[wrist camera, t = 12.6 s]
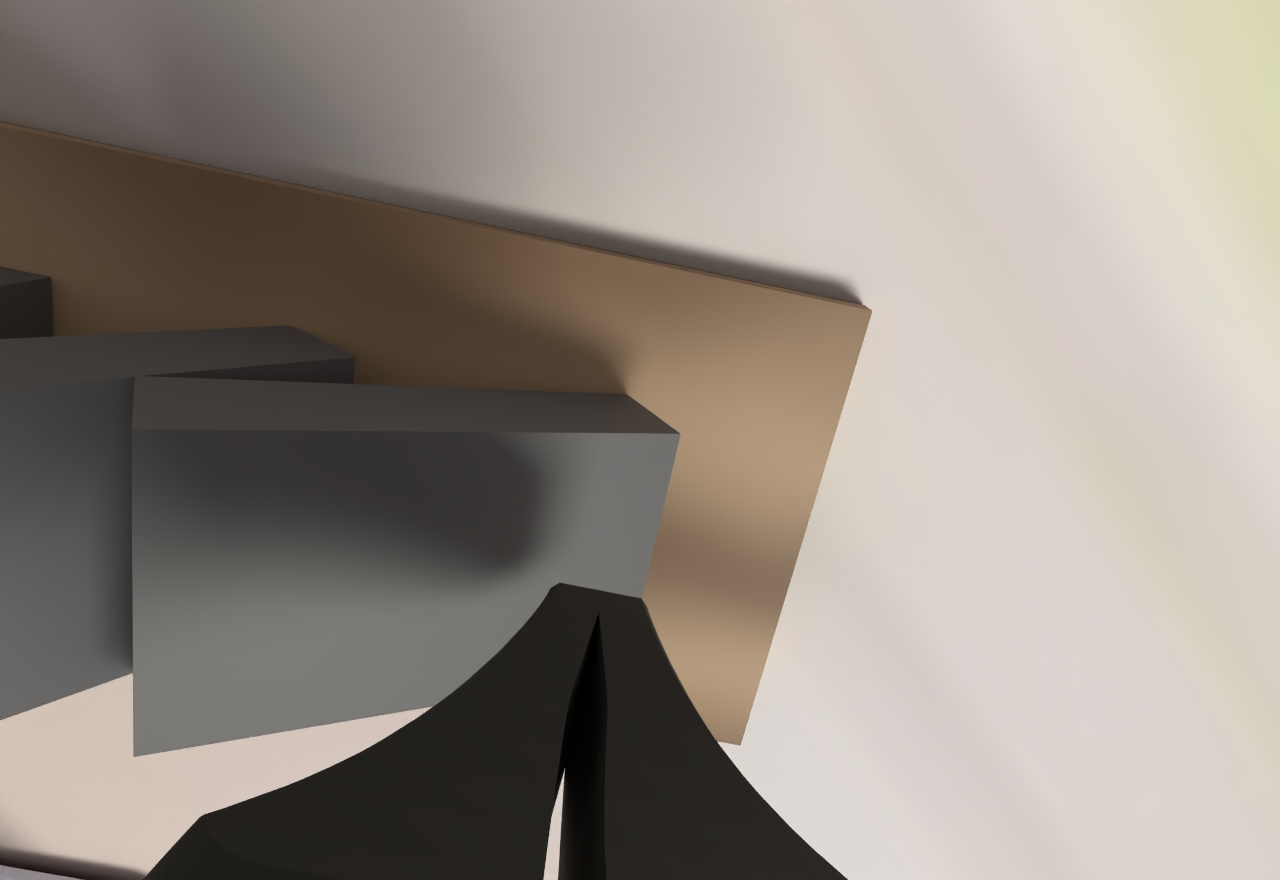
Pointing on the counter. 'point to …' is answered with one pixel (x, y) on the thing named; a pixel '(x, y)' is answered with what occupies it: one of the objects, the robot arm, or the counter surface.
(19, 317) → the domino
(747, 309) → the board
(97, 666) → the domino
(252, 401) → the domino
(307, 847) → the robot arm
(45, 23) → the counter surface
